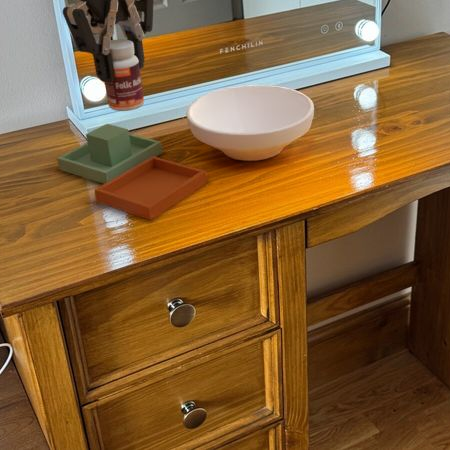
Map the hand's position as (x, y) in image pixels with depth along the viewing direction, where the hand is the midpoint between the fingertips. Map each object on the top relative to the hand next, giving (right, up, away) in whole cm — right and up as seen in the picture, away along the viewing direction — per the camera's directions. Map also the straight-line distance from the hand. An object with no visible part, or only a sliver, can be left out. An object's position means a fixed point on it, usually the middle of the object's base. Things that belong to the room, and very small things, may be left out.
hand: (122, 73), depth 100 cm
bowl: (+16, -8, +21) cm, 28 cm away
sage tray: (-6, -10, +19) cm, 22 cm away
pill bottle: (0, -4, +2) cm, 5 cm away
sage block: (-6, -9, +19) cm, 22 cm away
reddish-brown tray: (+2, -15, +10) cm, 18 cm away
